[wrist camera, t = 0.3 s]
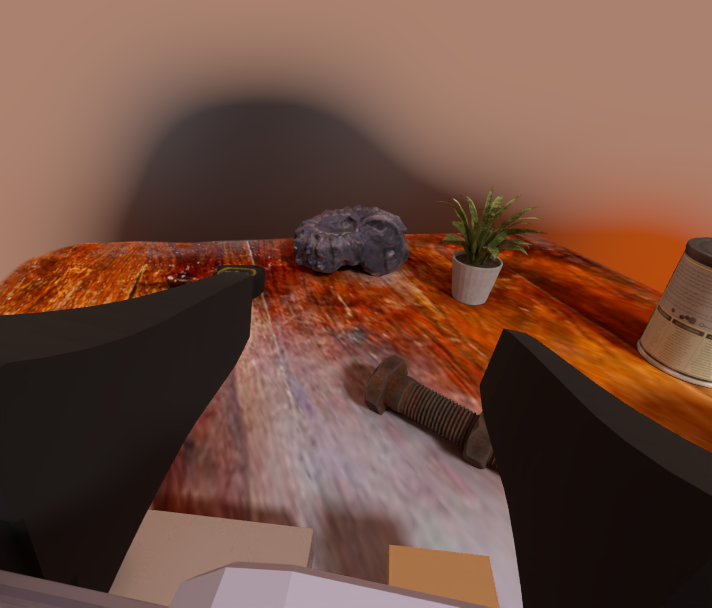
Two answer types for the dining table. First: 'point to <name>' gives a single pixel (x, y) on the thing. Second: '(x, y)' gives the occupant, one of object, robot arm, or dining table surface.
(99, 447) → the robot arm
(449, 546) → the dining table surface
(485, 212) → the house plant
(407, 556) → the tan chamfered block
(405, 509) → the dining table surface
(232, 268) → the tape measure
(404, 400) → the bolt
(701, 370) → the coffee can
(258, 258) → the dining table surface
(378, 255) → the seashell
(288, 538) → the grey slab with hole
